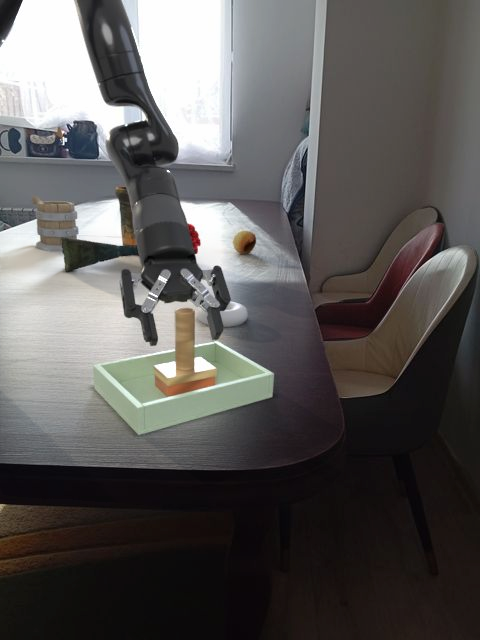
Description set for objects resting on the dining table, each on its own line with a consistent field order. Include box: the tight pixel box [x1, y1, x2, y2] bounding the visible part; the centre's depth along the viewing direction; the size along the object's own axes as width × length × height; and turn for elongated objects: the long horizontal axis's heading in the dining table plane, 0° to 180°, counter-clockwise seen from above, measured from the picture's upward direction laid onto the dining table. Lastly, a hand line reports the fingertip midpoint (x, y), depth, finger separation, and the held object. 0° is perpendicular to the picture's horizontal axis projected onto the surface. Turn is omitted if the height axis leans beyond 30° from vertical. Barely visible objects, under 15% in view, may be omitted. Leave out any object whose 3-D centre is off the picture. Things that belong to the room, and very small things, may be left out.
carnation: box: [61, 222, 202, 273], centre depth 135 cm, size 16×18×35 cm
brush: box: [154, 307, 216, 397], centre depth 69 cm, size 7×5×11 cm, turn 124°
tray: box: [92, 340, 275, 436], centre depth 70 cm, size 20×15×4 cm
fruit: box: [232, 229, 257, 256], centre depth 169 cm, size 8×8×8 cm
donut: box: [196, 300, 249, 328], centre depth 101 cm, size 10×4×10 cm
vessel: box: [114, 185, 137, 246], centre depth 160 cm, size 14×14×20 cm
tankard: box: [30, 195, 79, 252], centre depth 164 cm, size 20×13×15 cm, turn 49°
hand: (186, 340), depth 66 cm, fingers open, 8 cm apart
